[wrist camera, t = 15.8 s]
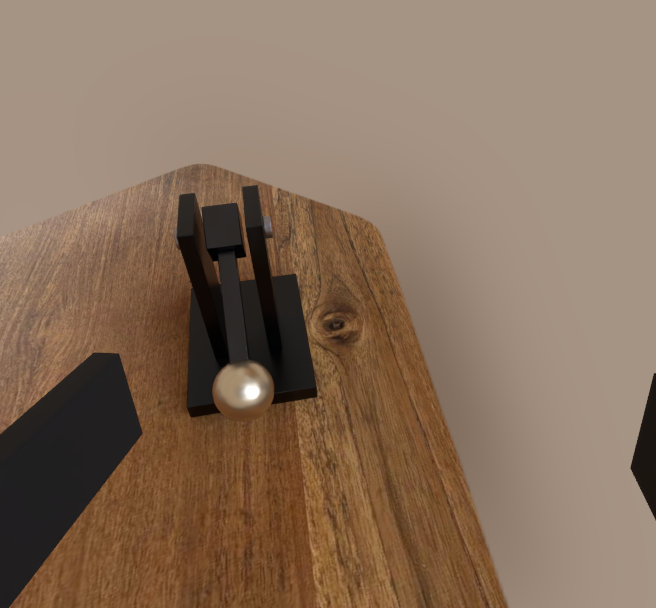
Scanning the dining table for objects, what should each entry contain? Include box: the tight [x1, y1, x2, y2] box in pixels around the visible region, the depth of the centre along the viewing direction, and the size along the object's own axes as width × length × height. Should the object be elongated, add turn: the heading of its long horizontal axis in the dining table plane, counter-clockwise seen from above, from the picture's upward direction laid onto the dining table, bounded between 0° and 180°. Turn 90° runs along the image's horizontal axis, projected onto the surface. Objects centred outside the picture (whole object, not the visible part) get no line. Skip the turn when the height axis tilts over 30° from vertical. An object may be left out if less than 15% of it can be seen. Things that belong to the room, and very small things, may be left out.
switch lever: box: [202, 203, 274, 422], centre depth 30 cm, size 13×4×4 cm, turn 10°
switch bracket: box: [174, 185, 317, 417], centre depth 35 cm, size 12×9×13 cm
